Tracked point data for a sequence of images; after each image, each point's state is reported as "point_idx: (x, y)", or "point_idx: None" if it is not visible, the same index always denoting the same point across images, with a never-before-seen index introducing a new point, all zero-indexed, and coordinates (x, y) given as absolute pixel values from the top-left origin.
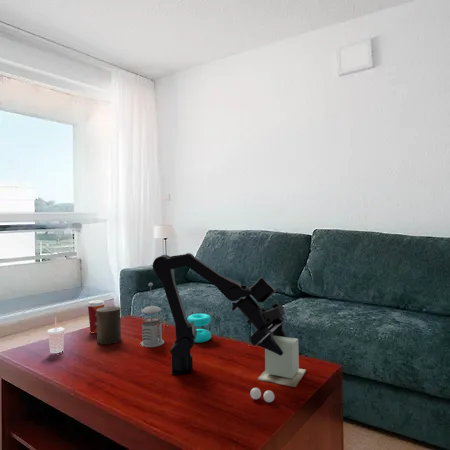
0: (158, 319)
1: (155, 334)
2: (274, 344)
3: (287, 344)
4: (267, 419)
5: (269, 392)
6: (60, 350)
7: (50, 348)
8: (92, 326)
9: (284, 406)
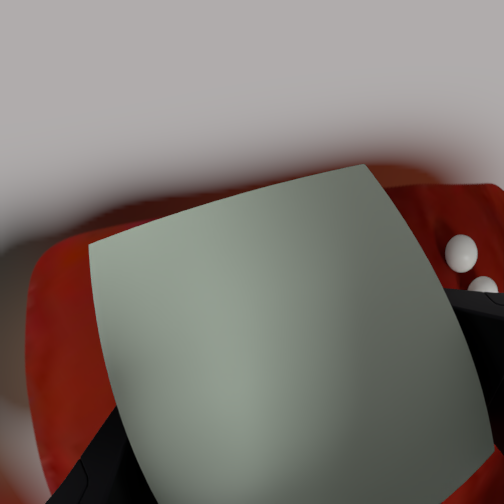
0: None
1: None
2: (496, 302)
3: (379, 214)
4: (477, 213)
5: (471, 239)
6: None
7: None
8: None
9: (427, 215)
